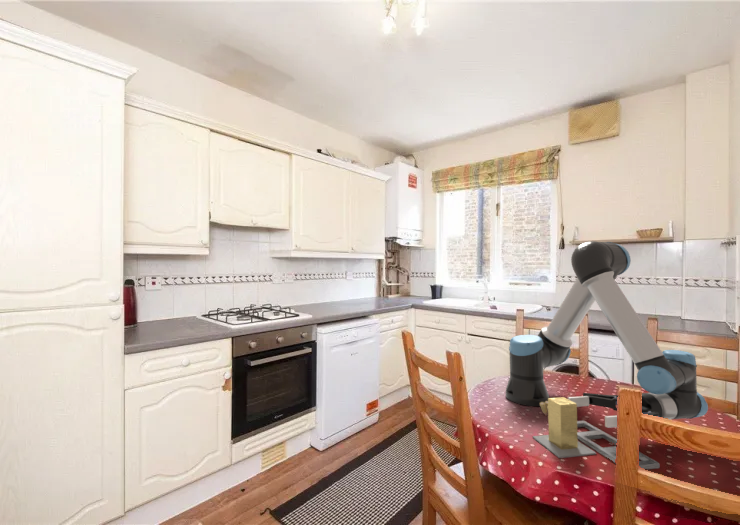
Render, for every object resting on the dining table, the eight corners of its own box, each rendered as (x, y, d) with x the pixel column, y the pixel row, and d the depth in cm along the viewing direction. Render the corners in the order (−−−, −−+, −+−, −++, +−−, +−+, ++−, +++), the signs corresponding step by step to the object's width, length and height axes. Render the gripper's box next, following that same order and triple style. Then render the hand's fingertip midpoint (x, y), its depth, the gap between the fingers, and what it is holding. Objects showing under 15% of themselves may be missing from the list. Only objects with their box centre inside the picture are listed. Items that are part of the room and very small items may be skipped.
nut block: (548, 440, 97) (548, 398, 97) (564, 438, 98) (563, 397, 98) (561, 449, 92) (560, 405, 92) (577, 447, 93) (576, 403, 93)
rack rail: (558, 426, 106) (558, 422, 106) (583, 424, 107) (583, 420, 108) (628, 471, 82) (628, 466, 82) (659, 467, 84) (659, 463, 84)
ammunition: (558, 409, 108) (575, 405, 111) (538, 401, 114) (554, 398, 118) (558, 425, 107) (575, 420, 111) (538, 416, 114) (555, 412, 117)
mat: (532, 437, 99) (532, 436, 99) (566, 434, 101) (566, 433, 101) (559, 458, 88) (559, 456, 88) (596, 454, 90) (596, 452, 90)
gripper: (698, 440, 87) (625, 447, 84) (615, 403, 111) (556, 407, 108) (697, 411, 87) (624, 416, 84) (614, 380, 112) (556, 383, 109)
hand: (586, 411), depth 96 cm, fingers open, 13 cm apart
